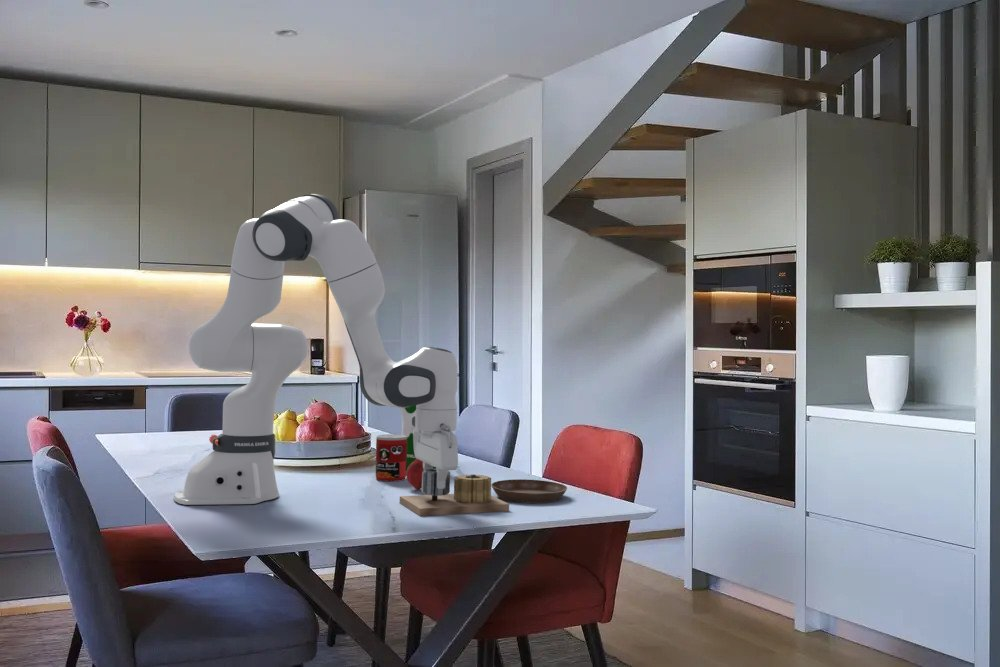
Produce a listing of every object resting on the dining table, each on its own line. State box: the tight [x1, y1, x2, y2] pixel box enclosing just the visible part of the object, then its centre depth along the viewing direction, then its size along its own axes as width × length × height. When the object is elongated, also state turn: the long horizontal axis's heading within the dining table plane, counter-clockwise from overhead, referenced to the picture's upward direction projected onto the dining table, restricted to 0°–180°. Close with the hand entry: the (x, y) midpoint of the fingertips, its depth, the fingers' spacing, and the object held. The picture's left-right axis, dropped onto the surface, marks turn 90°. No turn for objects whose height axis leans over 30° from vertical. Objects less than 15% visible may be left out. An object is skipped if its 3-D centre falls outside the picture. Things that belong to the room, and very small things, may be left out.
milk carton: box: [400, 405, 437, 472], centre depth 261 cm, size 9×9×20 cm
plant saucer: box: [491, 478, 568, 504], centre depth 224 cm, size 18×18×3 cm
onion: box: [406, 458, 424, 491], centre depth 231 cm, size 6×6×8 cm
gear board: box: [399, 474, 510, 517], centre depth 210 cm, size 20×15×7 cm
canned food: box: [375, 433, 407, 482], centre depth 246 cm, size 8×8×11 cm
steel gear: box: [421, 468, 451, 496], centre depth 210 cm, size 6×6×5 cm
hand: (434, 485), depth 210 cm, fingers closed on steel gear, 6 cm apart
